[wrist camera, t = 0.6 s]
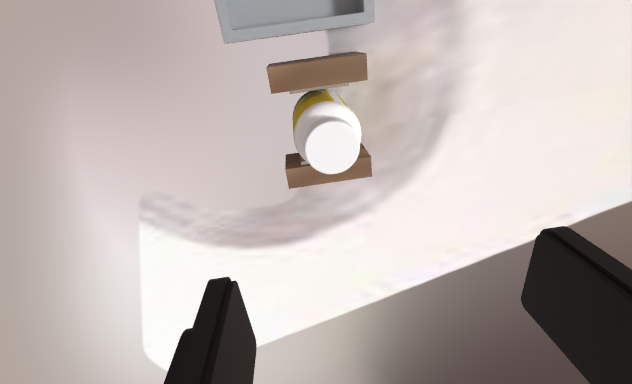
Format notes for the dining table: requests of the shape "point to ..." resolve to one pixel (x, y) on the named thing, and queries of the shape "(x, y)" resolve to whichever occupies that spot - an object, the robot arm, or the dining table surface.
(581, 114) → the dining table surface
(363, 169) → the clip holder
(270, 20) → the tray
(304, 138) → the supplement bottle
